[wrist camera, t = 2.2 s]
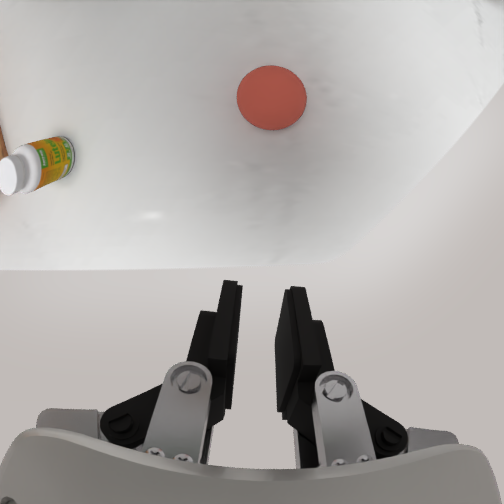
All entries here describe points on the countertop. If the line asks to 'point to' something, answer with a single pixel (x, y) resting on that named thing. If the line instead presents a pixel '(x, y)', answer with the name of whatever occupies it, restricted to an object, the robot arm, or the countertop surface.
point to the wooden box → (2, 147)
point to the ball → (271, 97)
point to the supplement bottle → (36, 165)
